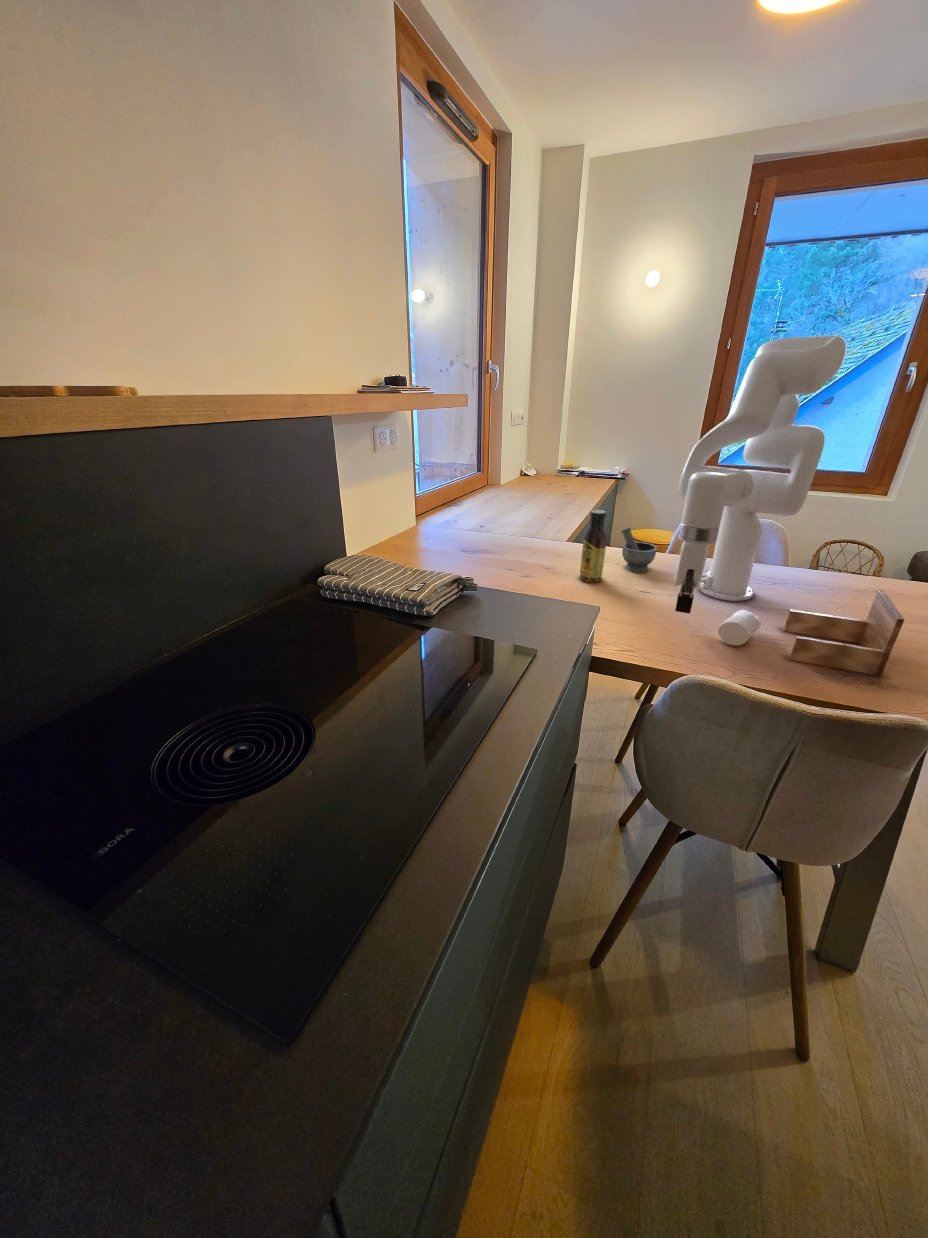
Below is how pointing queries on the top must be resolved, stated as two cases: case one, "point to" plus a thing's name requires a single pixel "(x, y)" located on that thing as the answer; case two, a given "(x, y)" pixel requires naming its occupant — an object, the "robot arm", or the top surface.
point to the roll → (739, 628)
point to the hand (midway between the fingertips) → (682, 610)
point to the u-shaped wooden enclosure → (847, 637)
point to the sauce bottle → (594, 548)
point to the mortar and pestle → (637, 552)
